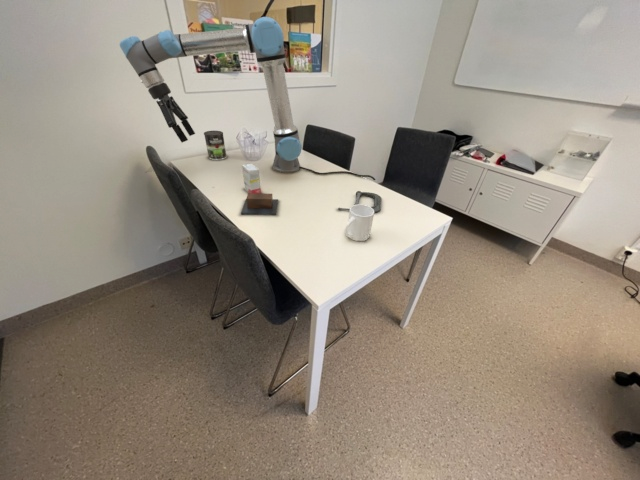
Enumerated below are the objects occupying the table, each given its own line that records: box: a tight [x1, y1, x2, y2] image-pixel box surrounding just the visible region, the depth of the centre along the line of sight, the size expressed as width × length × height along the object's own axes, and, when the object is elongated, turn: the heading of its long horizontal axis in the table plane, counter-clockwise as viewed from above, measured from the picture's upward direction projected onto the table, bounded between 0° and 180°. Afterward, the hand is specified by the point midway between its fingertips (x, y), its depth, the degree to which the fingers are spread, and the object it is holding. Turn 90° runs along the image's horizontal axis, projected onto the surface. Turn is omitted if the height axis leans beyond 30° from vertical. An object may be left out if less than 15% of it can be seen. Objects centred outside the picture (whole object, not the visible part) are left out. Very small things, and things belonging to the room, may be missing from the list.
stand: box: [240, 192, 279, 216], centre depth 109 cm, size 14×12×6 cm
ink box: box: [241, 163, 262, 193], centre depth 119 cm, size 9×5×12 cm, turn 35°
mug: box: [345, 203, 375, 242], centre depth 94 cm, size 9×12×11 cm
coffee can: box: [203, 130, 228, 161], centre depth 153 cm, size 10×10×14 cm
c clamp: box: [337, 190, 382, 214], centre depth 118 cm, size 20×17×3 cm
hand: (189, 138), depth 116 cm, fingers open, 13 cm apart
